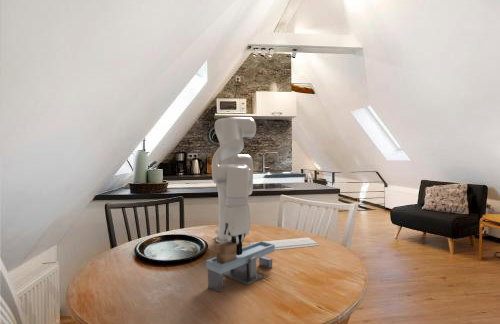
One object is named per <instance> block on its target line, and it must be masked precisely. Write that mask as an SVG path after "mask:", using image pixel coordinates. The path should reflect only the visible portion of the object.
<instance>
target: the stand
mask: <svg viewBox="0 0 500 324" xmlns="http://www.w3.org/2000/svg"><path fill="white" fill-rule="evenodd" d="M258 265H259V266H260V267H264V268H266V269H271V268H273V258H271V257H268V256H266V255H265V256H263V257H260V258H258ZM224 277H227V278H230V279H232V280H235V281H237V282H239V283H241V284H245V285H247V286H249V285H251V284H253V283H254V282H257V281H258V280H261V279H263V274H261V273H259V272H258V273H257V259H256V257H252V258H250V259H249V262H248V263H246V264H244V265H241V266H239V267H236V268H234V269H232V270H229V271H227V272H225V273H222V274H219V273H216V272H214V271H212V270H209V269H207V288H209V289H211V290H213V291H215V292H218V293H219V292H221V291H223V290H224Z"/></svg>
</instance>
